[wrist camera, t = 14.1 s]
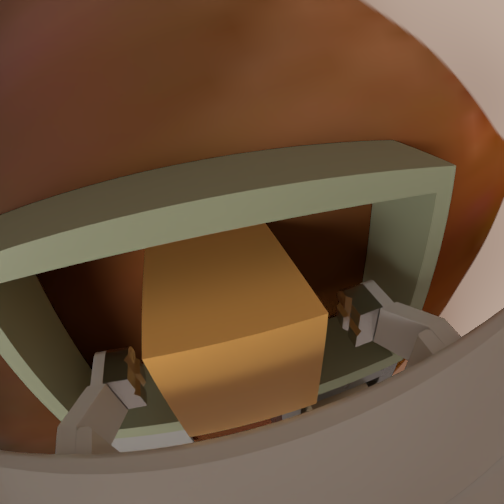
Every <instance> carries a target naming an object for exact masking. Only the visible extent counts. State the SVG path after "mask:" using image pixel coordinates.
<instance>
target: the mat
mask: <svg viewBox="0 0 504 504" xmlns="http://www.w3.org/2000/svg"><path fill="white" fill-rule="evenodd" d="M193 442H194V440H193V438H192V437H189V436H188V434H187V433H186V431H185V430H181V431H175V432H169V433H162V434H154V435H147V436H138V437H128V438H117V439H114V441H113V443H112V446H113V447H114V448H115V449H117V450H118V451H119V452H130V451H140V450H148V449H156V448H163V447H170V446H176V445H182V444H188V443H193Z"/></svg>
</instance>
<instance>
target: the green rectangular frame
mask: <svg viewBox="0 0 504 504" xmlns="http://www.w3.org/2000/svg"><path fill="white" fill-rule="evenodd" d="M455 171H456V165H454V164H451V163H449V162H447V161H445V160H442V159H440V158H438V157H435V156H433V155H430V154H428V153H426V152H423V151H421V150H418V149H415V148H413V147H410V146H408V145H405V144H402V143H400V142H397V141H394V140H377V141H356V142H340V143H327V144H316V145H305V146H295V147H286V148H278V149H270V150H262V151H255V152H248V153H241V154H234V155H228V156H222V157H216V158H210V159H204V160H199V161H193V162H188V163H183V164H178V165H173V166H168V167H164V168H159V169H154V170H150V171H145V172H141V173H137V174H133V175H129V176H124V177H120V178H116V179H113V180H109V181H105V182H101V183H98V184H94V185H90V186H87V187H83V188H80V189H76V190H73V191H70V192H66V193H63V194H60V195H57V196H53V197H50V198H47V199H44V200H41V201H38V202H35V203H32V204H29V205H26V206H24V207H21V208H18V209H15V210H12V211H10V212H7V213H4V214H2V215H0V354H1V356H2V357H3V358H4V359H5V361H6V362H7V363H8V364H9V366H10V367H11V368H12V369H13V371H14V372H15V373H16V374H17V375H18V377H19V378H20V379H21V380H22V381H23V382H24V384H25V385H26V386H27V387H28V388H29V389H30V390H31V391H32V392H33V394H34V395H35V396H36V397H37V398H38V399H39V400H40V401H41V402H42V403H43V404H44V405H45V406H46V407H47V408H48V409H49V410H50V411H51V412H52V413H53V414H54V415H55V416H56V417H57V418H58V419H59V420H60V421H61V422H62V420H63V419H64V418H65V416H66V415H67V413H68V412H69V411H70V409H71V408H72V406H73V405H74V404H75V402H76V401H77V400H78V398H79V397H80V395H81V394H82V393H83V391H84V390H85V389H86V387H87V386H90V384H91V375H92V370H91V368H90V367H89V365H88V364H87V362H86V361H85V359H84V358H83V356H82V355H81V353H80V352H79V350H78V349H77V347H76V346H75V344H74V343H73V341H72V339H71V338H70V336H69V334H68V333H67V331H66V330H65V328H64V326H63V325H62V323H61V321H60V319H59V318H58V316H57V314H56V312H55V311H54V309H53V307H52V305H51V303H50V301H49V300H48V298H47V296H46V294H45V292H44V290H43V288H42V286H41V284H40V282H39V280H38V278H37V276H36V274H38V273H42V272H46V271H50V270H54V269H58V268H63V267H67V266H71V265H75V264H79V263H83V262H87V261H92V260H96V259H100V258H104V257H109V256H113V255H117V254H122V253H126V252H131V251H135V250H139V249H144V248H148V247H153V246H157V245H162V244H167V243H171V242H176V241H180V240H185V239H190V238H194V237H199V236H204V235H209V234H214V233H218V232H223V231H228V230H233V229H238V228H243V227H248V226H253V225H258V224H263V223H268V222H273V221H278V220H283V219H289V218H294V217H299V216H305V215H310V214H315V213H321V212H326V211H332V210H337V209H343V208H348V207H354V206H360V205H365V204H371V203H372V212H371V222H370V231H369V239H368V247H367V255H366V262H365V269H364V275H363V281H362V283H363V282H365V281H368V280H373V281H374V282H375V283H376V284H377V285H378V286H379V287H380V288H381V289H382V290H383V291H384V292H385V293H386V294H387V296H388V297H389V298H390V299H391V300H392V301H393V302H394V303H395V302H399V303H402V304H405V305H407V306H410V307H413V308H416V309H419V310H421V311H422V308H423V305H424V302H425V299H426V296H427V293H428V290H429V287H430V283H431V280H432V277H433V273H434V270H435V266H436V263H437V259H438V255H439V252H440V248H441V244H442V239H443V235H444V231H445V226H446V222H447V217H448V212H449V207H450V202H451V196H452V190H453V184H454V178H455ZM373 341H374V340H373ZM373 341H371V342H368V343H365V344H363V345H360V346H357V347H355V346H354V345H353V343H352V342H351V340H350V339H349V337H348V331H347V330H345V329H343V328H342V327H341V325H340V324H339V322H338V319H337V316H336V317H333V318H330V319H328V323H327V332H326V340H325V348H324V356H323V363H322V371H321V377H320V384H319V390H318V395H319V394H322V393H325V392H328V391H330V390H333V389H336V388H338V387H341V386H344V385H346V384H349V383H351V382H354V381H356V380H359V379H361V378H363V377H366V376H368V375H371V374H373V373H375V372H377V371H380V370H382V369H384V368H386V367H389V366H391V365H393V364H395V363H397V362H399V361H401V360H403V357H401V356H399V355H397V354H395V353H393V352H392V351H390V350H388V349H386V348H384V347H382V346H381V345H379V344H377V343H375V342H373ZM142 365H143V367H144V370H145V374H146V383H145V385H144V386H143V387H144V388H145V390H146V391H147V406H143V407H137V408H132V409H128V412H127V414H126V416H125V418H124V420H123V422H122V424H121V426H120V428H119V430H118V432H117V434H116V436H115V438H114V439H117V438H128V437H138V436H147V435H154V434H162V433H169V432H175V431H181V430H184V428H183V427H182V425H181V424H180V422H179V421H178V419H177V418H176V416H175V414H174V413H173V411H172V410H171V408H170V407H169V405H168V403H167V402H166V400H165V398H164V397H163V395H162V394H161V392H160V390H159V389H158V387H157V385H156V383H155V382H154V380H153V378H152V376H151V375H150V373H149V371H148V369H147V368H146V366H145V364H142Z"/></svg>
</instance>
